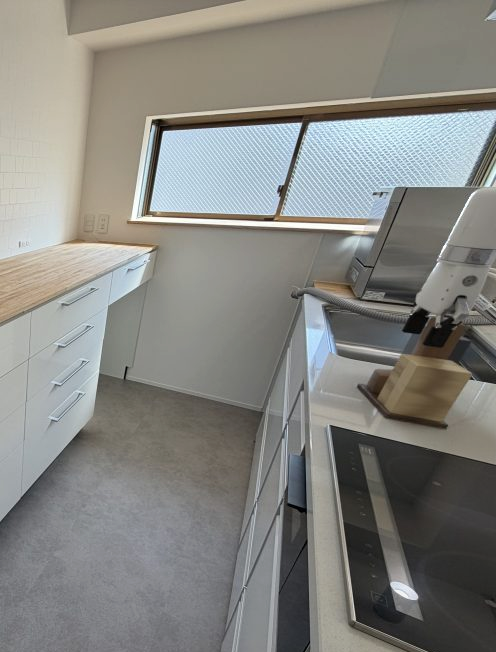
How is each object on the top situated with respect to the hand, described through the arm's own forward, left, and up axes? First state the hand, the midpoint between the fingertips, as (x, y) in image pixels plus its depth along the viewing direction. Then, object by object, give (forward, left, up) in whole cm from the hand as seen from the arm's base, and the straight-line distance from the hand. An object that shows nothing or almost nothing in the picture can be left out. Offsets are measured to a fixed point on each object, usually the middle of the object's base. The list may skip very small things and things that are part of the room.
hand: (421, 339), depth 89 cm
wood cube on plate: (0, +4, -14) cm, 15 cm away
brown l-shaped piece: (0, 0, -14) cm, 14 cm away
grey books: (-8, -11, -14) cm, 20 cm away
